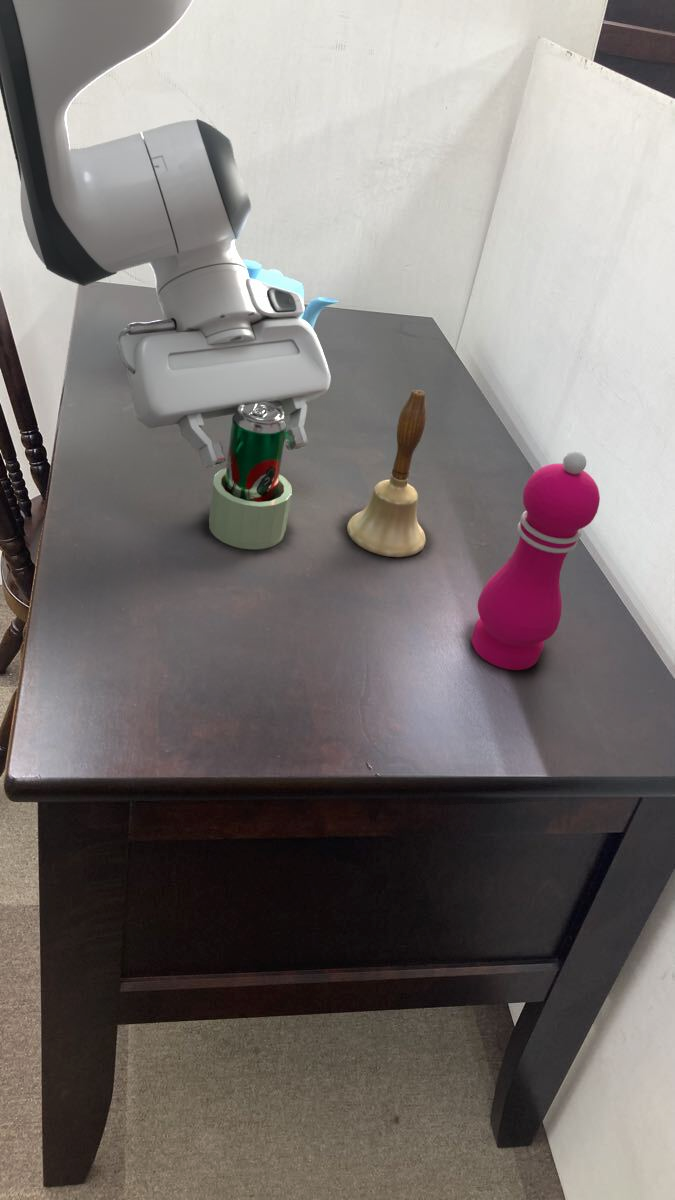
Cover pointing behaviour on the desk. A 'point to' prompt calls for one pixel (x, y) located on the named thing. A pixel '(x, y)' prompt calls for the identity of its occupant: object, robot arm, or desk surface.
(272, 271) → the teapot
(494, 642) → the pepper mill
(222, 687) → the desk surface
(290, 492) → the socket
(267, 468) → the soda can
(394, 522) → the hand bell
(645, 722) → the desk surface
